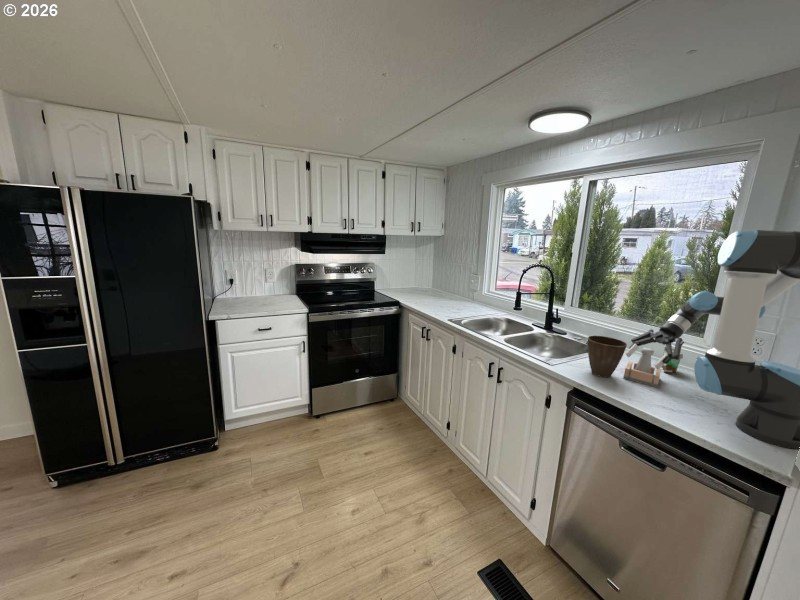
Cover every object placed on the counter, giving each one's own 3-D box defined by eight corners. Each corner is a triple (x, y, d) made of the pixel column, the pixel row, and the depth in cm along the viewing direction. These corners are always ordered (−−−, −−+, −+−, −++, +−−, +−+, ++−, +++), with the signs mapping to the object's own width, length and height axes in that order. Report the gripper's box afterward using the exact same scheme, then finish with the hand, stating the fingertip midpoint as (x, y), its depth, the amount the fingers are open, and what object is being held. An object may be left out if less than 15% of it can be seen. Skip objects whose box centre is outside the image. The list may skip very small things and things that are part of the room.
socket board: (657, 387, 135) (659, 376, 134) (623, 378, 142) (625, 368, 142) (659, 378, 144) (661, 368, 143) (627, 370, 151) (629, 361, 150)
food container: (681, 377, 146) (686, 356, 144) (664, 373, 150) (669, 353, 148) (676, 368, 157) (680, 349, 155) (660, 365, 160) (664, 346, 158)
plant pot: (575, 366, 153) (580, 334, 150) (605, 367, 154) (611, 335, 150) (595, 380, 138) (601, 345, 135) (628, 381, 139) (635, 346, 136)
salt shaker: (631, 374, 144) (637, 347, 141) (638, 372, 146) (644, 345, 144) (645, 379, 139) (652, 351, 136) (652, 377, 141) (659, 350, 139)
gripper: (710, 342, 131) (673, 378, 130) (650, 325, 154) (619, 355, 154) (703, 330, 128) (666, 367, 128) (644, 314, 152) (612, 345, 152)
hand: (640, 361), depth 141 cm, fingers open, 13 cm apart
